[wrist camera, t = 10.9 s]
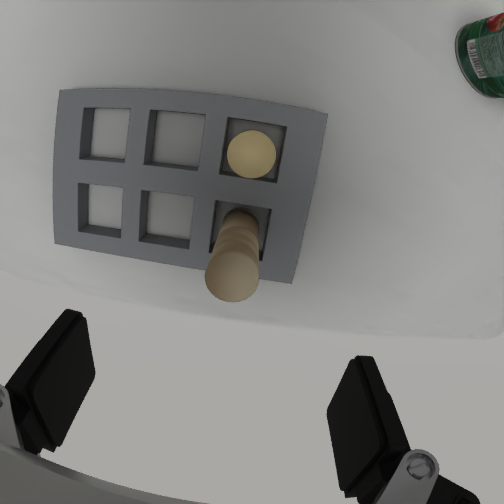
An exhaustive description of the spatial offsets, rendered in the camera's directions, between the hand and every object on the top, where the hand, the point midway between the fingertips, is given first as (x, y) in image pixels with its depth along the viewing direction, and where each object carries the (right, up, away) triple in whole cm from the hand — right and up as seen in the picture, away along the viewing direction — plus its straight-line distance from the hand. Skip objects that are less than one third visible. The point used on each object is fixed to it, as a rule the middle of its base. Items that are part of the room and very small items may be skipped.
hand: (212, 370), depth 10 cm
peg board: (-5, +10, +15) cm, 19 cm away
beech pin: (0, +6, +17) cm, 18 cm away
